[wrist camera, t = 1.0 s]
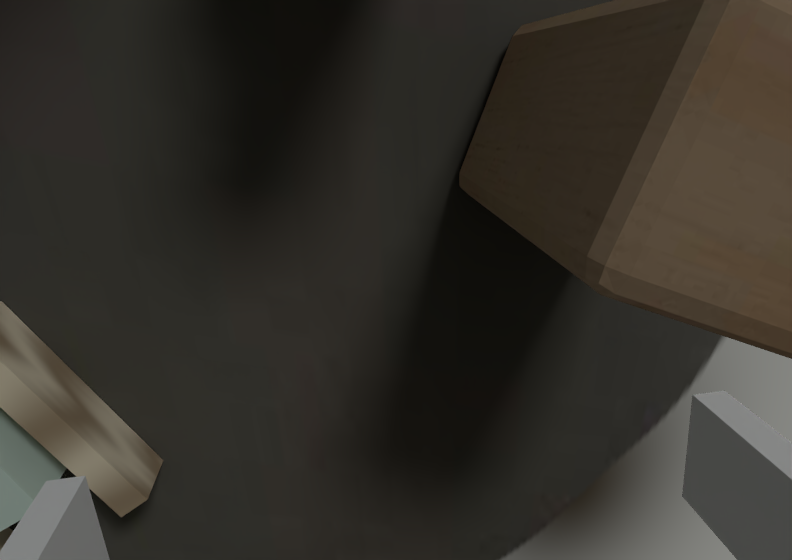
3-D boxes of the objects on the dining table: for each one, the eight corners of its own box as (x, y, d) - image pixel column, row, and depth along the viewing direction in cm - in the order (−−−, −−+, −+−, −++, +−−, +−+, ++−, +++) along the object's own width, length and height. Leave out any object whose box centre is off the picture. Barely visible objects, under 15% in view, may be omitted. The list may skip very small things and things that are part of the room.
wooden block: (591, 237, 39) (846, 382, 20) (449, 186, 37) (586, 296, 18) (662, 83, 37) (1026, 86, 18) (513, 19, 35) (750, -54, 16)
